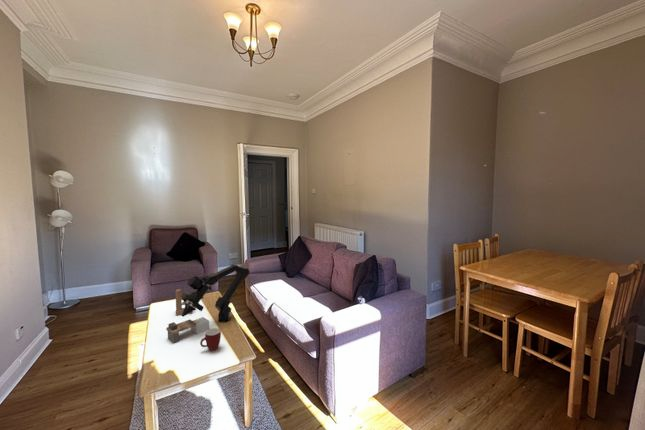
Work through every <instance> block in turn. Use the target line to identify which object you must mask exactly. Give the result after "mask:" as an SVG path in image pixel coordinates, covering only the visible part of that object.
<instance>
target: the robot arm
mask: <svg viewBox="0 0 645 430" xmlns="http://www.w3.org/2000/svg"><path fill="white" fill-rule="evenodd" d="M234 272H235V277H234V279H233V281H231V284H230V285H229V286H228V288H227V290H226V292H225V293H224V294H223V296H222V297H221V296H219V297H218V298H217V300H216V301H215V303H214V307H215V308H216V309H217V311H218V314H217V315H218V316H217V317H218V321H217V322H218V323H222V322H223V323H228V322H229V321H230V319H231V318H232V317H231V316H230V315H231V314H230V313H231V311H232V307H230V306H229V305H230V304H231V303H230V301H231V298H232V297H233V295H234V293H235V292H236V291H237V288H239V285H240V284H241V282H242V281H243V280H245V279H246V278H247V277H248V276H249V274H250V270H249V268H247V267H243V266H239V265H237V264H234V263H233V264H230V265H229V266H227V267H225V268H223V269H221V270H219V271H217V272H214V273H213V272H212V273H209V274H206V275H204V277H201V278H199V277H198V276H197V275H194V276H192V277H191V278H189V280H187V284H186V285H187V286H189V287H190V288H191V289H193V290H195V291H192V292H185V291H183V293H182V294H181V300H182V302H184V301H185V302H186V303H185V302H184V303H185V305H184V307H183V308H184V311H183V313H182V315H181V316H182V318H183V317H185V316H187V315H190V314H189V313H190V312H192V311H193V312H194V311H196V310H198V311H200V312H202V311H203V310H204V306H203V305H202V304H201V303H199V302H200V301H201V300H203V299H204V296H205V294H206V293H207V292H208V291H210V292H211V291H213V290H212V286H213V285H216V284H217V283H218V282H219V281H220V280H221V279H222V278H224V277H226V276H228V275H230V274H233V273H234Z"/></svg>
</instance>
